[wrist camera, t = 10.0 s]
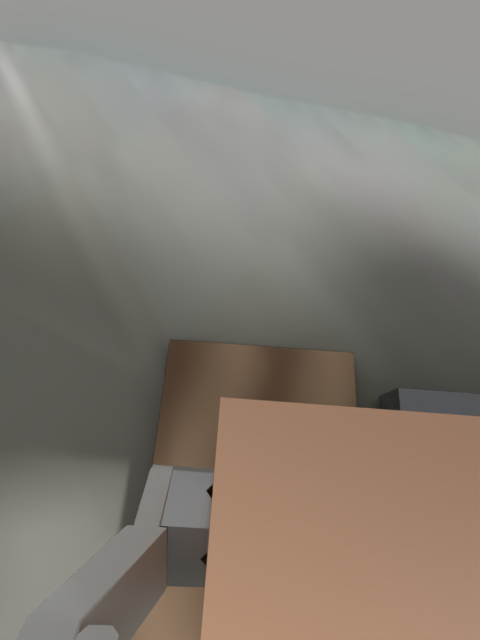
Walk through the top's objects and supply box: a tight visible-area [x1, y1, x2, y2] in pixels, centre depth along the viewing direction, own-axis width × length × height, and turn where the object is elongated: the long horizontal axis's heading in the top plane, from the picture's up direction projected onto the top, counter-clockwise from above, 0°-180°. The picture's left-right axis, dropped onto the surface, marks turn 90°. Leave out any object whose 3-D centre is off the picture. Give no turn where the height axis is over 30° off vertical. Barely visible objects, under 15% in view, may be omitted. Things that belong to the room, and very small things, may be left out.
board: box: [131, 339, 357, 640], centre depth 19 cm, size 11×16×1 cm
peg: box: [201, 397, 480, 640], centre depth 9 cm, size 4×4×10 cm
